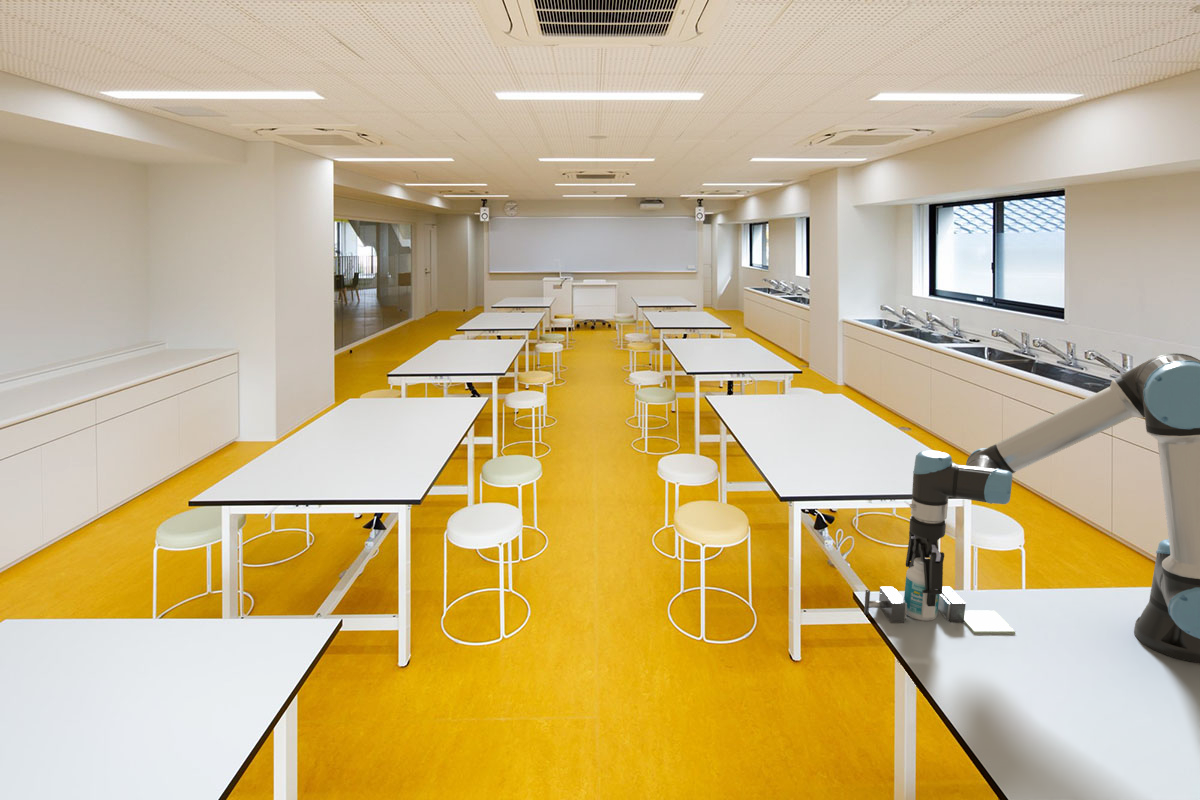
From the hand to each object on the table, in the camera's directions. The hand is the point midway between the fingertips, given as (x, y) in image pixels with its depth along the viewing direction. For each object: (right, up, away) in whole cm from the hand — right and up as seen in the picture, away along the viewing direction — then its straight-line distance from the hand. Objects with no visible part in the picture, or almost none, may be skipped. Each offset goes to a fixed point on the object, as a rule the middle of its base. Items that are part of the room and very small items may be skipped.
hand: (920, 607), depth 162 cm
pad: (+13, -2, -4) cm, 14 cm away
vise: (-2, -3, +1) cm, 4 cm away
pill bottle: (0, -2, 0) cm, 2 cm away
